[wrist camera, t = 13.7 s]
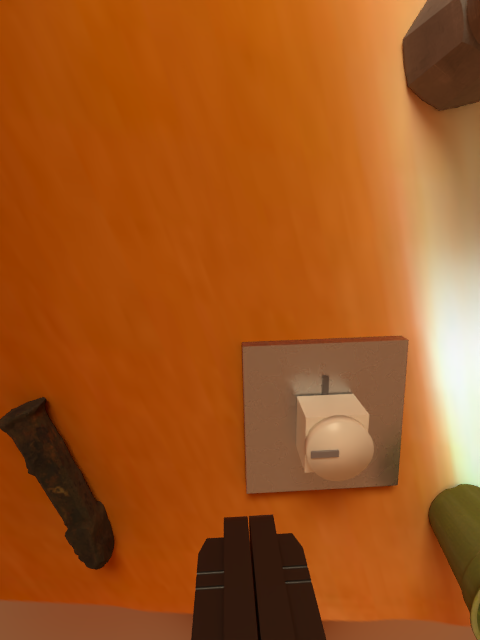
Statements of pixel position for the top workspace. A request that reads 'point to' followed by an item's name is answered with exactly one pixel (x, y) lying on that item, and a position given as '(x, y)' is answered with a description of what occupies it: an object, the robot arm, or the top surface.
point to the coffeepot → (444, 53)
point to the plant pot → (461, 541)
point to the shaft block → (320, 379)
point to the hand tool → (61, 481)
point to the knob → (333, 436)
